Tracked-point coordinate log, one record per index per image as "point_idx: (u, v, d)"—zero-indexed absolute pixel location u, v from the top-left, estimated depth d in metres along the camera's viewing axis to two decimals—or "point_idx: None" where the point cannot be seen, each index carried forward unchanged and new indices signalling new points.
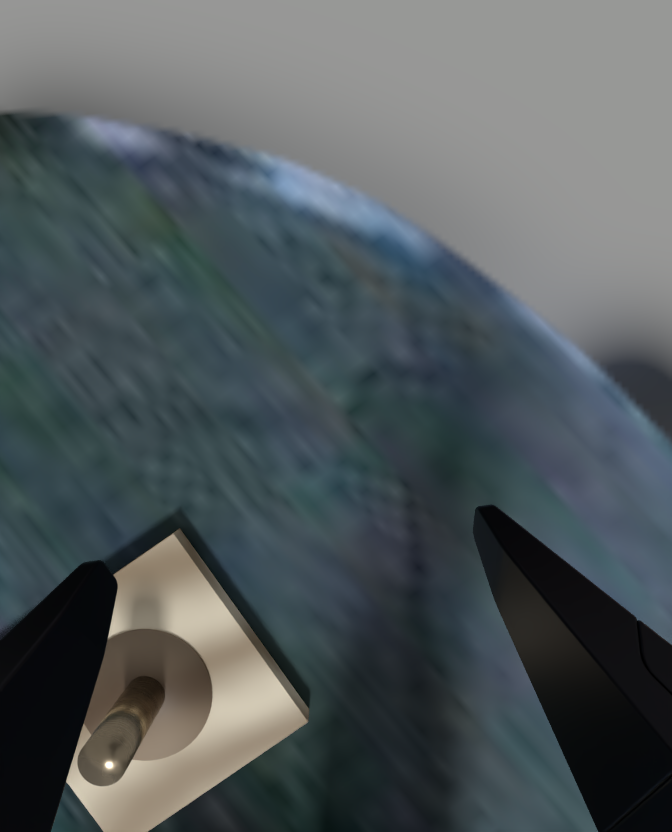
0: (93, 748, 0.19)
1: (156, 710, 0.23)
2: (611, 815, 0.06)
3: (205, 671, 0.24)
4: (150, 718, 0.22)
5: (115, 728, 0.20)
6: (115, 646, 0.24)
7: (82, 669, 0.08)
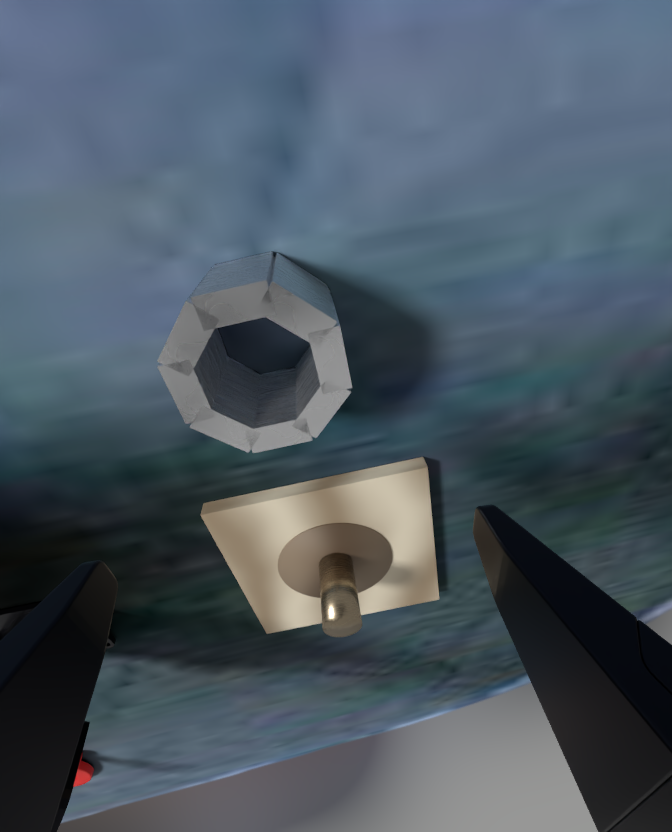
0: (355, 624, 0.24)
1: None
2: (611, 815, 0.06)
3: None
4: None
5: None
6: (384, 554, 0.28)
7: (82, 669, 0.08)
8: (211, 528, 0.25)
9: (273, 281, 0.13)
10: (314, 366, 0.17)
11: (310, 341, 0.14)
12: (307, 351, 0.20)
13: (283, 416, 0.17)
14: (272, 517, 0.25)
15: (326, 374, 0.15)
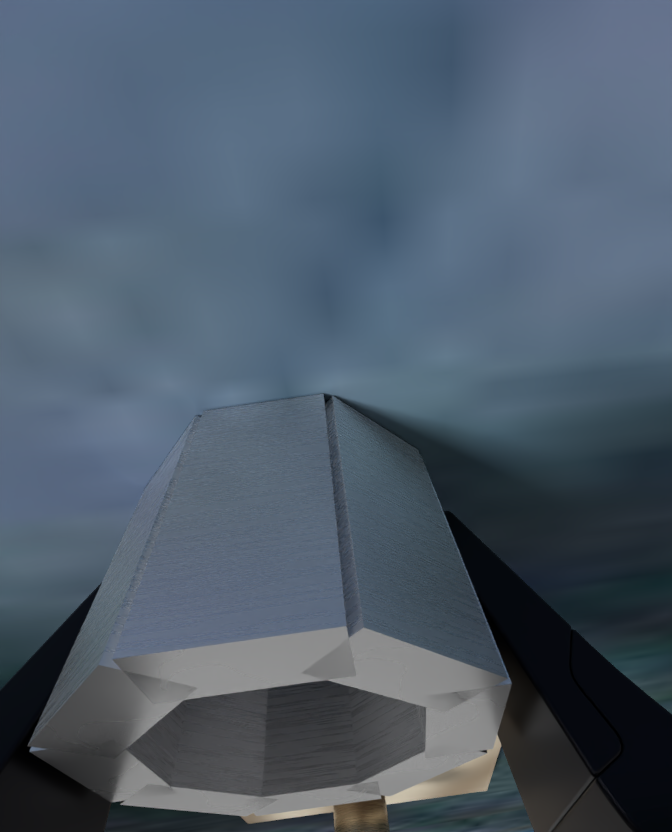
0: None
1: None
2: (546, 824, 0.06)
3: None
4: None
5: None
6: None
7: None
8: None
9: (364, 622, 0.04)
10: None
11: (428, 706, 0.06)
12: None
13: (326, 756, 0.08)
14: None
15: (444, 738, 0.07)
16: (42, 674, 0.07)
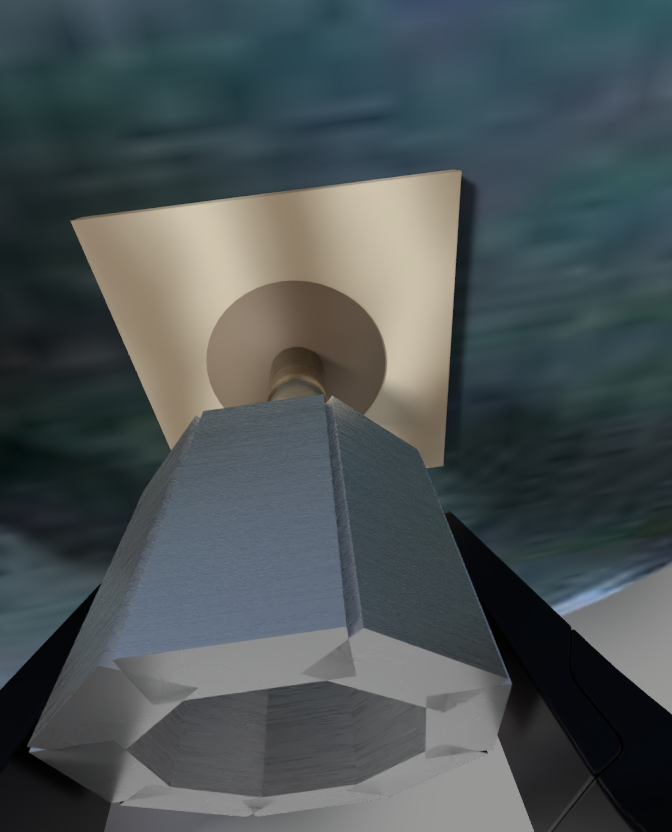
0: None
1: None
2: (546, 824, 0.06)
3: None
4: None
5: None
6: (372, 365, 0.18)
7: None
8: (92, 257, 0.15)
9: (365, 622, 0.04)
10: None
11: (428, 706, 0.06)
12: None
13: (326, 757, 0.08)
14: (196, 249, 0.15)
15: (444, 739, 0.06)
16: (42, 674, 0.07)
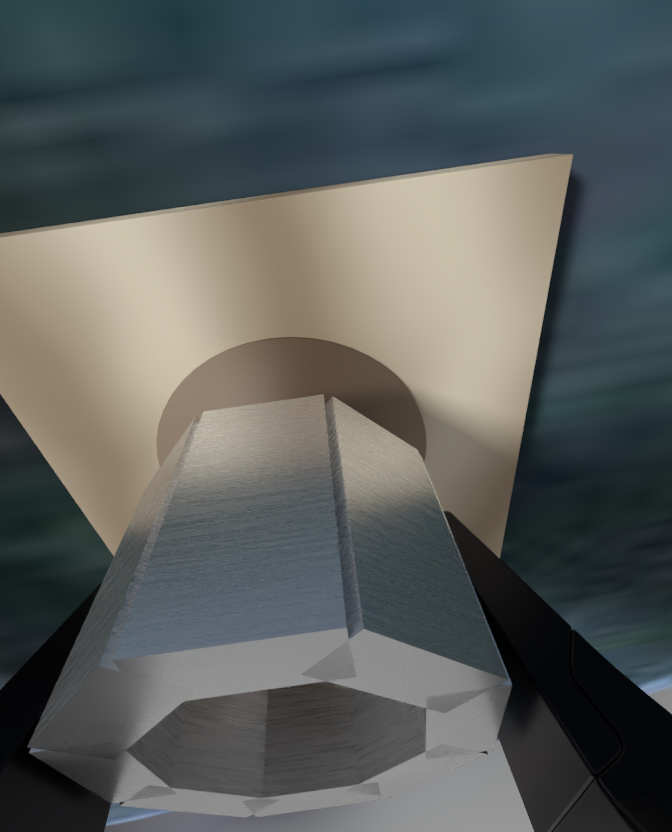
0: None
1: None
2: (546, 824, 0.06)
3: None
4: None
5: None
6: None
7: None
8: None
9: (365, 623, 0.04)
10: None
11: (428, 707, 0.06)
12: None
13: (326, 758, 0.08)
14: (124, 292, 0.09)
15: (444, 739, 0.06)
16: (42, 674, 0.07)
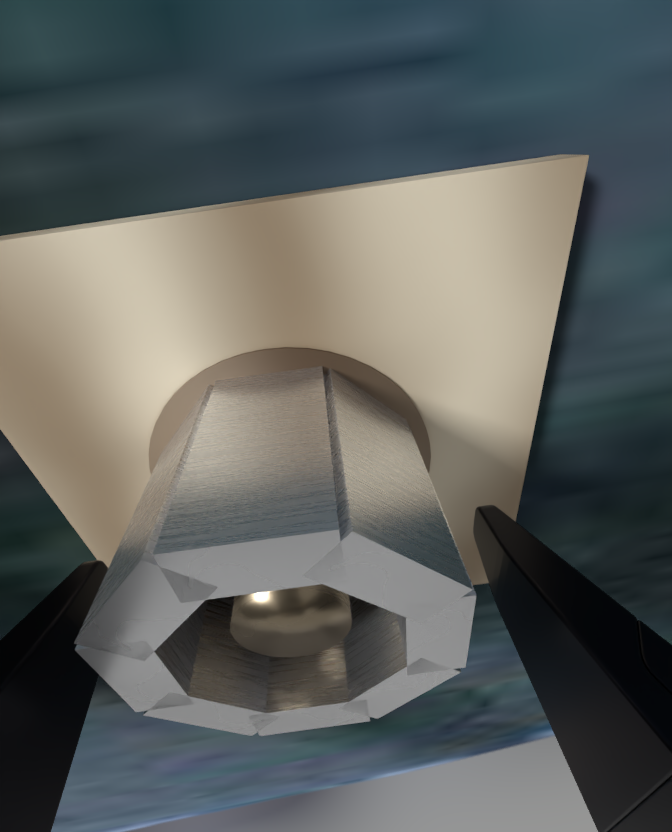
0: (332, 623, 0.08)
1: None
2: (611, 815, 0.06)
3: None
4: None
5: None
6: None
7: (82, 669, 0.08)
8: None
9: (353, 528, 0.06)
10: None
11: (407, 615, 0.07)
12: None
13: (322, 681, 0.09)
14: (112, 301, 0.09)
15: (422, 653, 0.08)
16: None
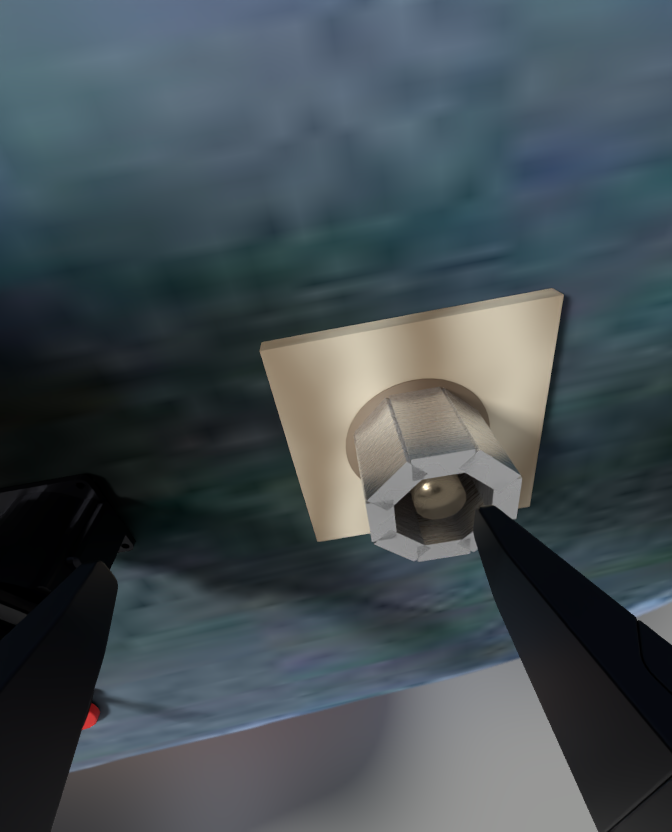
0: (458, 499, 0.18)
1: None
2: (611, 815, 0.06)
3: None
4: None
5: None
6: None
7: (82, 669, 0.08)
8: (271, 373, 0.19)
9: (479, 449, 0.16)
10: (470, 487, 0.20)
11: (494, 488, 0.17)
12: None
13: (448, 533, 0.19)
14: (350, 362, 0.19)
15: None
16: None
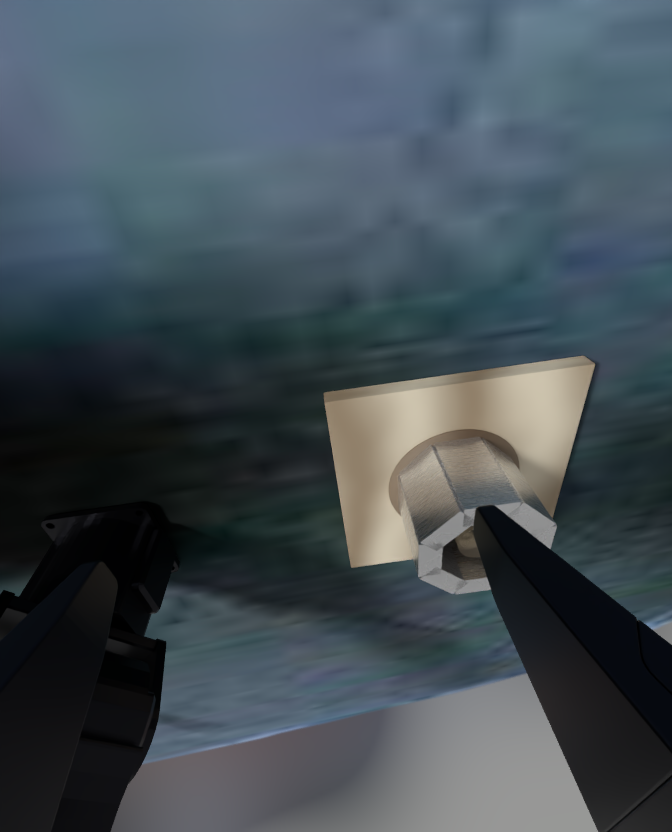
0: None
1: None
2: (611, 815, 0.06)
3: None
4: None
5: None
6: None
7: (82, 669, 0.08)
8: (331, 421, 0.21)
9: (524, 501, 0.18)
10: None
11: (532, 534, 0.19)
12: None
13: None
14: (403, 414, 0.21)
15: None
16: None
